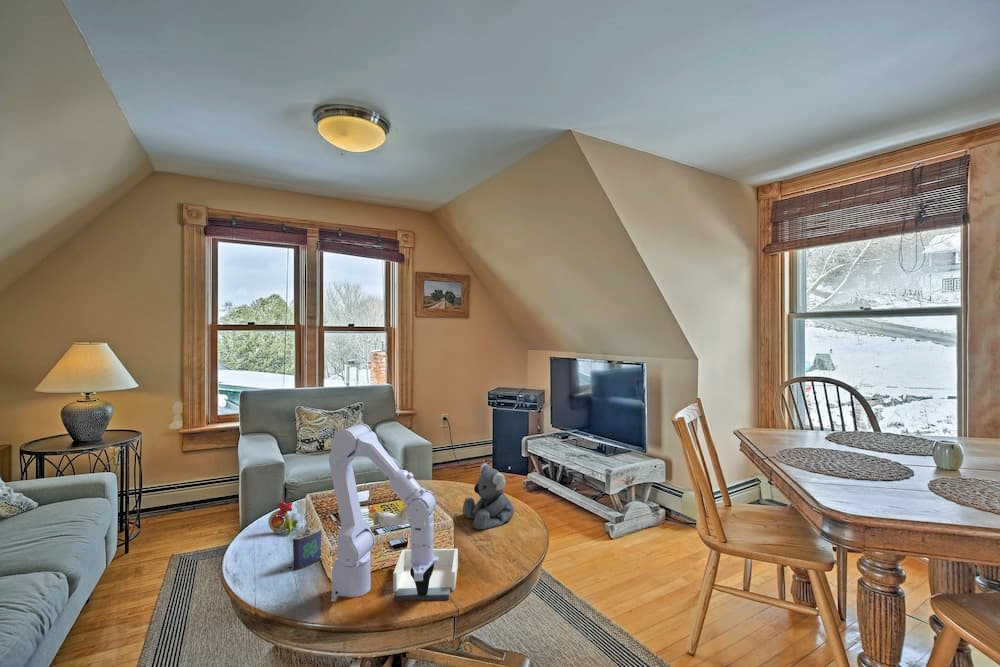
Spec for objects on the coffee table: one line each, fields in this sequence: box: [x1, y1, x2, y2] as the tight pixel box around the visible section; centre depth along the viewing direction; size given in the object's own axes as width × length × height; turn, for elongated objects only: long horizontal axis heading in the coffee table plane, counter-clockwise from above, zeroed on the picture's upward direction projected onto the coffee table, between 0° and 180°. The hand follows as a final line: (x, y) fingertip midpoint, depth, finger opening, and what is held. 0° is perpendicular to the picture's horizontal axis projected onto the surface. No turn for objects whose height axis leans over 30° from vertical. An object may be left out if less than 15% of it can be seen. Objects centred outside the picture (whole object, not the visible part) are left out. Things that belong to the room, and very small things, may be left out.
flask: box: [292, 526, 322, 571], centre depth 140 cm, size 9×3×11 cm, turn 148°
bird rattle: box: [268, 501, 299, 535], centre depth 161 cm, size 6×11×9 cm
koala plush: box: [462, 462, 515, 530], centre depth 172 cm, size 17×18×20 cm
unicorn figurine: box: [372, 505, 410, 526], centre depth 153 cm, size 7×20×13 cm, turn 86°
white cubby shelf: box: [392, 548, 459, 593], centre depth 129 cm, size 16×13×6 cm
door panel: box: [394, 587, 451, 602], centre depth 120 cm, size 14×1×5 cm
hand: (422, 594), depth 119 cm, fingers closed, pressing on door panel
